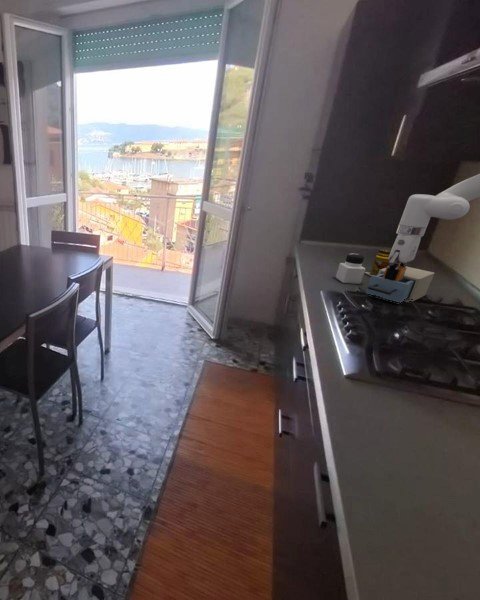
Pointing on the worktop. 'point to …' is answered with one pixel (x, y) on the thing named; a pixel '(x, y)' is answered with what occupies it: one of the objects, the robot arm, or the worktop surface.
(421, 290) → the small drawer box
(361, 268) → the medicine bottle
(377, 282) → the blue drawer
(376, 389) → the worktop surface
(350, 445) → the worktop surface
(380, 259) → the condiment
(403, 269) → the orange cube
